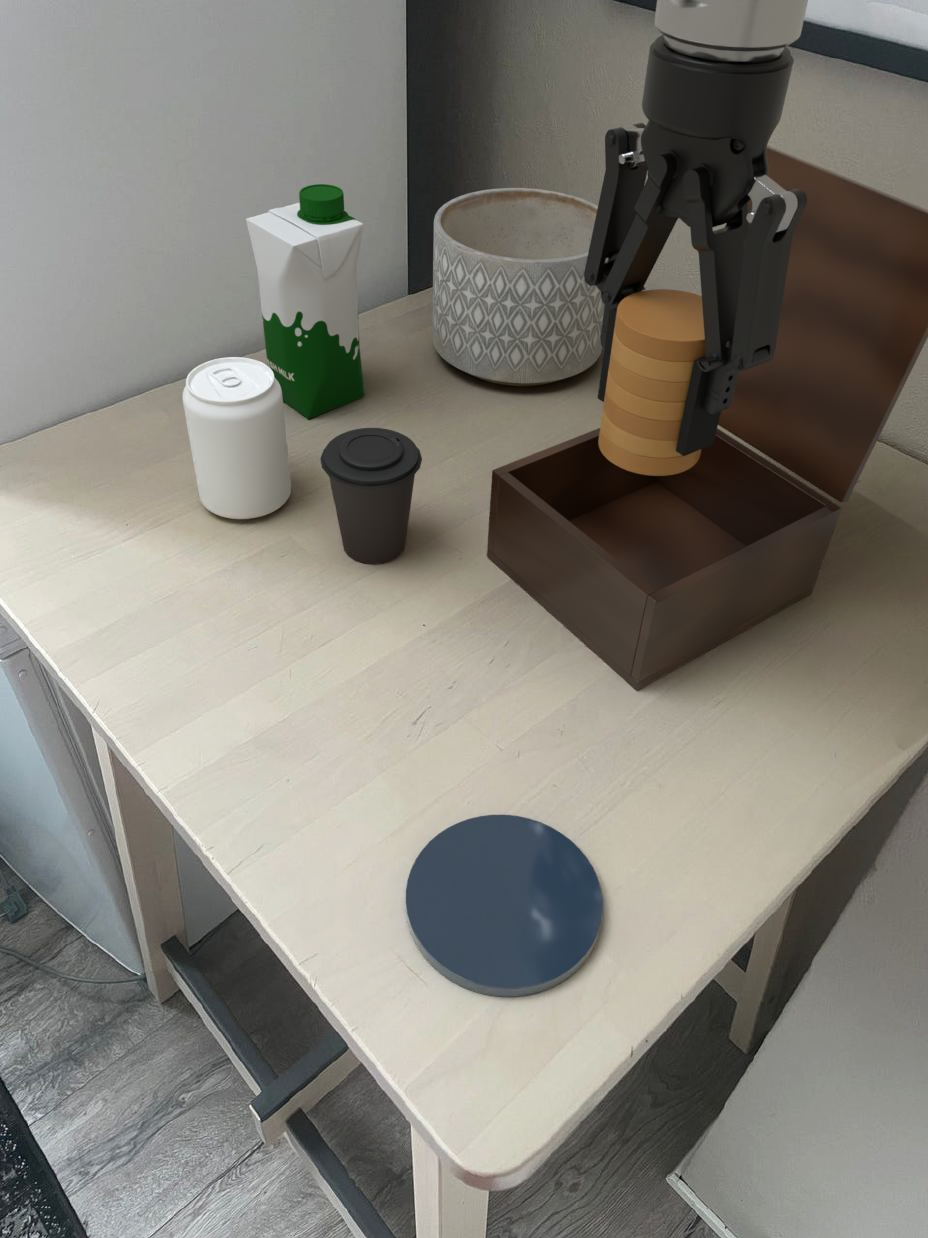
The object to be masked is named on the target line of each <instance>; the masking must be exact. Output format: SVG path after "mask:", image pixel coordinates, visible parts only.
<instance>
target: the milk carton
mask: <svg viewBox="0 0 928 1238" xmlns="http://www.w3.org/2000/svg"><path fill="white" fill-rule="evenodd" d="M298 192H299V193H298V197H299V198H298V199H299V202H296V203H293V204H289V205H286V206H285V205H284V206H282V207H275V208H271V209H269V210H268V211H267V212H265V213H261V214H258V215H254V216H251V217H247V218H245V222H246V226H247V230H248V234H249V239H250V243H251V248H252V252H253V257H254V262H255V265H256V272H257V280H258V281H257V282H258V289H259V299H260V308H261V316H262V317H261V318H262V327H263V337H264V345H265V354H266V365H267V366H268V367H270V369H271V370H272V371H273V373H274V377H275V378H276V380H277V381H278V382H279V384H280V386H281V390H282V398H283V403H285V404H286V405H287V406H289V407H290V408H292V409H293V410H294V411H296V412H298V413H299V414H300V415H302V416H303V417H305V418H306V419H307V420H310V419H313V418H315V417H318V416H320V415H322V414H325V413H327V412H330V411H332V410H335V409H337V408H340V407H341V406H344V405H346V404H349V403H352V402H354V401H356V400H359V399H361V398H364V397H365V387H364V377H363V376H364V375H363V368H362V367H363V366H362V357H361V345H360V344H361V343H360V321H359V294H358V293H359V291H358V260H359V254H360V249H361V243H362V236H363V230H364V223H362V222H361V221H358V220H357V219H356V218H355V217H353V216H352V215H349V213H348V212H347V211H345V198H344V191H343V189H341V187H339V186H336V185H332V184H326V183H318V184H310V185H307V186H304V187H302V188H301V189H300V190H299V191H298Z"/></svg>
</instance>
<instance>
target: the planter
mask: <svg viewBox="0 0 928 1238" xmlns="http://www.w3.org/2000/svg"><path fill="white" fill-rule="evenodd" d="M597 209H598V205H597V204H595V203H593V202H591V201H589V200H586V199H585V198H581V197H578V196H574V195H572V194H568V193H564V192H559V191H555V190H554V191H553V190H547V189H540V188H530V187H529V188H527V187H501V188H500V187H499V188H491V189H490V188H489V189H483V190H477V191H473V192H469V193H465V194H462V195H460V196H457V197H455V198H452V199H451V200H449V201H447V202H446V203H444V204H443V205H442V206H440V208H438V210H437V211H436V213H435V214H434V218H433V250H432V251H433V252H432V254H433V256H432V313H431V314H432V318H431V319H432V320H431V321H432V322H431V324H432V325H431V338H432V345H433V346H434V348H435V351H436V352H437V353H438V354H439V355H440V357H441V358H442V359H444V361H446V363H448V364H449V365H451V366H453V367H455V368H456V369H458V370H460V371H462V372H464V373H467V374H469V376H473V377H474V378H477V379H479V380H483V381H485V382H489V383H493V384H497V385H505V386H513V387H533V386H542V385H547V384H552V383H555V382H558V381H561V380H566V379H568V378H571V377H574V376H577V375H578V374H581V373H583V372H584V371H587V369H589V368H591V367H592V366H593V365H594V364H595V363H596V362H597V361H598V359H599V357H600V356H601V354H602V350H603V346H601V339H600V336H601V330H602V321H603V314H604V306H605V304H604V303H603V301H602V299H601V291H600V290H599V289H598V288H597V286H596V285H594V286H589V285H588V284H587V283H586V281H585V278H584V271H585V266H586V262H587V257H588V252H589V247H590V242H591V238H592V233H593V228H594V223H595V218H596V214H597ZM605 262H608V258H606V260H605Z"/></svg>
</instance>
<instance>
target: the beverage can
mask: <svg viewBox="0 0 928 1238" xmlns="http://www.w3.org/2000/svg"><path fill="white" fill-rule="evenodd" d="M182 404H183V410H184V416H185V422H186V427H187V434H188V439H189V444H190V450H191V456H192V457H191V458H192V461H193V467H194V474H195V479H196V484H197V491H198V496H199V500H200V502H201V504H202V506H204V507H205V509H206V510H208V511H209V512H211V513H212V514H215V515H217V516H219V517H222V518H226V519H232V520H249V519H256V518H261V517H263V516H267V515H269V514H272V513H273V512H275V511H277V510H278V509H280V508H281V507H283V505H285V504H286V502H287V501H288V500H289V498H290V496H291V493H292V482H291V481H292V480H291V471H290V460H289V450H288V440H287V429H286V420H285V418H286V417H285V410H284V408H285V407H284V402H283V398H282V390H281V386H280V384H279V382H278V381H277V380H276V378H275V377H274V373H273V371H272V370H271V369H270V367H268V366H267V363H264V362H262V361H259V360H257V359H254V358H248V357H243V356H242V357H240V356H227V357H220V358H215V359H211V360H208V361H205V362H203V363H201V364H199V365H197V366H196V367H194V368H193V369H192V370H190V371H189V372H188V374H187V376H186V379H185V386H184V388H183V391H182Z"/></svg>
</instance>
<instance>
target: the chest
mask: <svg viewBox="0 0 928 1238" xmlns="http://www.w3.org/2000/svg"><path fill="white" fill-rule="evenodd" d="M599 433H600V427H598V428H596V429H594V430H590V431H588V432H586V433H582V434H581V435H578V436H576V437H573V438H569V439H568V440H565V441H563V442H560V443H558V444H556V445H553V446H550V447H548V448H545V449H542V450H540V451H538V452H535V453H533V454H530V455H527V456H525V457H522V458H520V459H517V460H515V461H511V462H509V463H507V464H505V465H502V466H500V467H497V468H495V469H492V471H491V484H490V485H491V486H490V501H489V502H490V503H489V516H488V530H487V532H488V533H487V546H486V547H487V549H486V557H487V558H488V559H489V560H490V561H491V562H492V563H494V564H495V566H497V567H498V568H499V569H500V570H502V572H503V573H505V575H507V576H508V577H509V578H510V579H511V580H513V581H514V582H515V583H516V584H517V585H518V586H519V587H520V588H522V590H524V592H526V593H527V594H528V595H529V596H530V597H531V598H533V599H534V601H536V602H537V603H538V604H539V605H541V606H542V607H543V608H544V609H545V610H546V611H547V612H548V613H550V615H551V616H553V617H554V619H556V620H557V621H558V622H559V623H561V624H562V626H564V627H565V628H566V629H567V630H568V631H569V632H571V633H572V634H573V635H574V636H575V637H576V638H577V639H578V640H579V641H581V642H582V643H583V644H584V645H585V646H586V647H587V648H588V649H589V650H590V651H592V652H593V653H594V654H595V655H596V656H597V657H598V658H600V660H602V661H603V662H604V663H605V664H606V665H607V666H609V667H610V668H611V670H613V671H614V672H615V673H616V674H617V675H619V676H620V678H622V679H623V680H624V681H625V682H627V684H628V685H630V686H631V687H632V688H633V689H634V690H635V691H639V690H641V689H643V688H645V687H647V686H648V685H650V684H652V683H654V682H656V681H658V680H659V679H661V678H662V677H664V676H666V675H668V674H669V673H671V672H674V671H675V670H677V669H678V668H680V667H683V666H684V665H686V664H688V663H690V662H691V661H693V660H695V659H697V658H698V657H700V656H702V655H704V654H706V653H708V652H710V651H711V650H713V649H715V648H716V647H718V646H721V645H722V644H724V643H725V642H727V641H729V640H731V639H732V638H735V637H737V636H738V635H740V634H742V633H743V632H745V631H746V630H749V629H750V628H753V627H755V626H756V625H758V624H760V623H762V622H763V621H765V620H767V619H768V618H771V617H772V616H774V615H775V614H777V613H779V612H781V611H783V610H784V609H786V608H788V607H790V606H792V605H794V604H795V603H797V602H799V601H801V600H802V599H804V598H806V597H808V596H810V595H811V594H813V591H814V589H815V585H816V583H817V580H818V577H819V574H820V571H821V568H822V566H823V563H824V560H825V558H826V554H827V551H828V549H829V546H830V544H831V540H832V538H833V535H834V532H835V530H836V527H837V523H838V521H839V518H840V515H841V512H842V510H843V507H842V506H840V505H838V504H837V503H836V502H834V501H833V500H831V499H830V498H828V497H826V496H825V495H823V494H822V493H820V492H818V491H817V490H816V489H814V488H813V487H811V486H809V485H807V484H806V483H805V482H803V481H801V480H800V479H798V478H797V477H795V476H794V475H792V474H790V473H789V472H787V471H785V470H783V469H782V468H781V467H779V466H778V465H776V464H775V463H773V462H771V461H770V460H768V459H766V458H765V457H764V456H762V455H761V454H758V453H757V452H755V451H754V450H752V449H751V448H749V447H748V446H746V445H745V444H743V443H741V442H740V441H738V440H736V439H735V438H734V437H732V436H730V435H729V434H727V433H726V432H724V431H722V430H721V429H719V428H718V427H717V431H716V435H715V439H714V444H712V445H710V446H707V447H705V448H703V449H701V454H700V457H699V460H698V461H697V463H696V464H695V465H694V466H693V467H691V468H690V469H688V470H686V471H684V472H681V473H678V474H674V475H667V476H650V475H643V474H638V473H634V472H630V471H627V470H625V469H622V468H620V467H618V466H616V465H615V464H613V463H612V462H610V461H609V460H608V459H607V458H606V457H605V456H604V455H603V454H602V452H601V450H600V448H599V444H598V440H599Z"/></svg>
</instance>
